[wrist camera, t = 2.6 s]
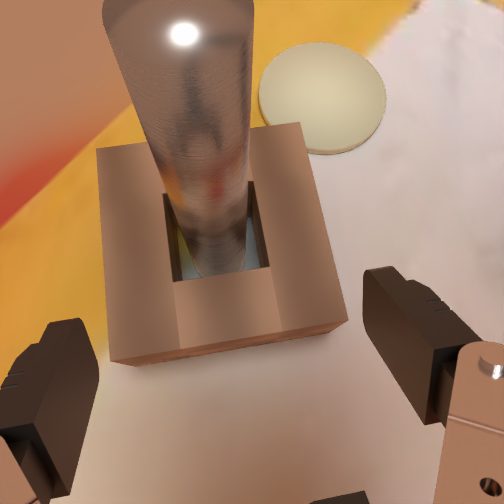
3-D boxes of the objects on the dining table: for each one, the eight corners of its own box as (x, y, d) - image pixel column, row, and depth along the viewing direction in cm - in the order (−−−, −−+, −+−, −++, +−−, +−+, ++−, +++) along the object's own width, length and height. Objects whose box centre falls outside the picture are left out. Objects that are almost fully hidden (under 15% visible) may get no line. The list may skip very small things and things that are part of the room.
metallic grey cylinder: (240, 229, 33) (241, -53, 12) (249, 278, 31) (266, 60, 10) (190, 237, 32) (97, -39, 11) (196, 286, 31) (107, 79, 10)
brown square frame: (290, 165, 34) (299, 121, 29) (328, 332, 30) (348, 320, 25) (120, 189, 33) (96, 148, 28) (135, 366, 29) (110, 361, 23)
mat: (364, 44, 39) (367, 35, 38) (397, 145, 35) (401, 138, 34) (249, 58, 38) (249, 49, 37) (271, 162, 35) (272, 156, 34)
